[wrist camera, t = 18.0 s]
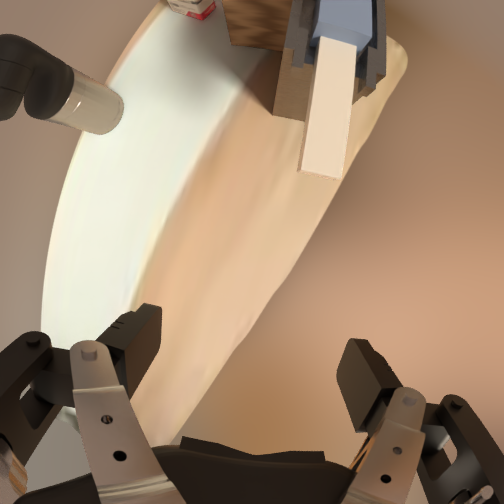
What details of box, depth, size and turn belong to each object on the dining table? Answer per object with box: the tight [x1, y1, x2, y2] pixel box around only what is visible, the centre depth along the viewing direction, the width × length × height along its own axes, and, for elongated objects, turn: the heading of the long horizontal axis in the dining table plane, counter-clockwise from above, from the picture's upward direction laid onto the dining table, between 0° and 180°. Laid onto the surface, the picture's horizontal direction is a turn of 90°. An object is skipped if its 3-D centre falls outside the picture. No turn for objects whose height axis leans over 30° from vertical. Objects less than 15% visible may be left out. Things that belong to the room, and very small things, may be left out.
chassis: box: [272, 0, 386, 122], centre depth 31 cm, size 10×15×25 cm, turn 170°
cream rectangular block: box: [297, 0, 372, 180], centre depth 19 cm, size 5×22×6 cm, turn 170°
